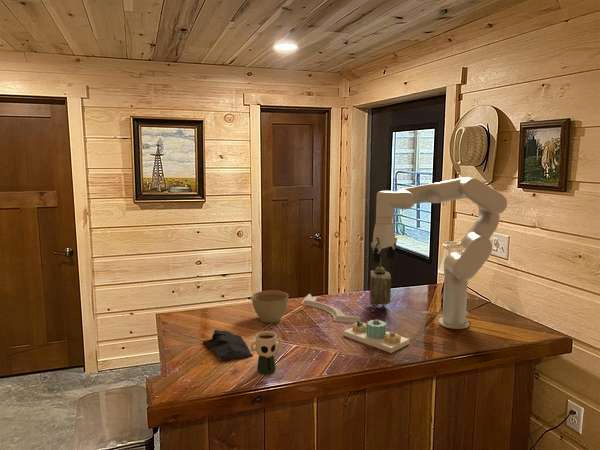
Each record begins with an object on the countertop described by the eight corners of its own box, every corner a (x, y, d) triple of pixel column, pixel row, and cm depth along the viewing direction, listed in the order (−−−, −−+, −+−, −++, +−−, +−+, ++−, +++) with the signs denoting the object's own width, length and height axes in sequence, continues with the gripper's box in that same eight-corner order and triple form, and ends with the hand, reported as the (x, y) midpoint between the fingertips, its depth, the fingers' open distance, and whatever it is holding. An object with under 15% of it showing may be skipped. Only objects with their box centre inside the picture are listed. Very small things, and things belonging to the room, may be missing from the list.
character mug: (254, 378, 156) (253, 341, 154) (248, 369, 162) (247, 333, 160) (285, 373, 160) (285, 336, 158) (277, 364, 166) (277, 329, 164)
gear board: (362, 327, 200) (362, 309, 199) (408, 343, 184) (409, 324, 183) (343, 335, 192) (344, 316, 190) (391, 353, 176) (391, 332, 174)
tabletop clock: (369, 303, 231) (371, 253, 227) (388, 304, 230) (390, 254, 226) (370, 313, 217) (371, 260, 213) (390, 314, 216) (391, 261, 212)
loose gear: (374, 330, 193) (374, 318, 192) (389, 335, 187) (390, 323, 186) (362, 335, 187) (362, 323, 186) (378, 340, 182) (378, 328, 181)
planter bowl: (263, 311, 221) (263, 288, 219) (294, 316, 214) (294, 293, 212) (245, 322, 206) (244, 298, 205) (277, 328, 199) (277, 303, 198)
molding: (366, 323, 207) (367, 317, 207) (345, 328, 201) (345, 322, 200) (311, 297, 242) (312, 292, 242) (291, 301, 236) (292, 295, 235)
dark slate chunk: (213, 365, 166) (213, 352, 166) (202, 342, 187) (202, 330, 186) (255, 358, 172) (255, 346, 171) (240, 336, 192) (240, 325, 191)
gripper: (389, 217, 206) (388, 255, 209) (365, 221, 194) (364, 262, 197) (404, 219, 201) (402, 258, 204) (380, 223, 189) (379, 265, 192)
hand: (383, 260), depth 200 cm, fingers open, 9 cm apart
